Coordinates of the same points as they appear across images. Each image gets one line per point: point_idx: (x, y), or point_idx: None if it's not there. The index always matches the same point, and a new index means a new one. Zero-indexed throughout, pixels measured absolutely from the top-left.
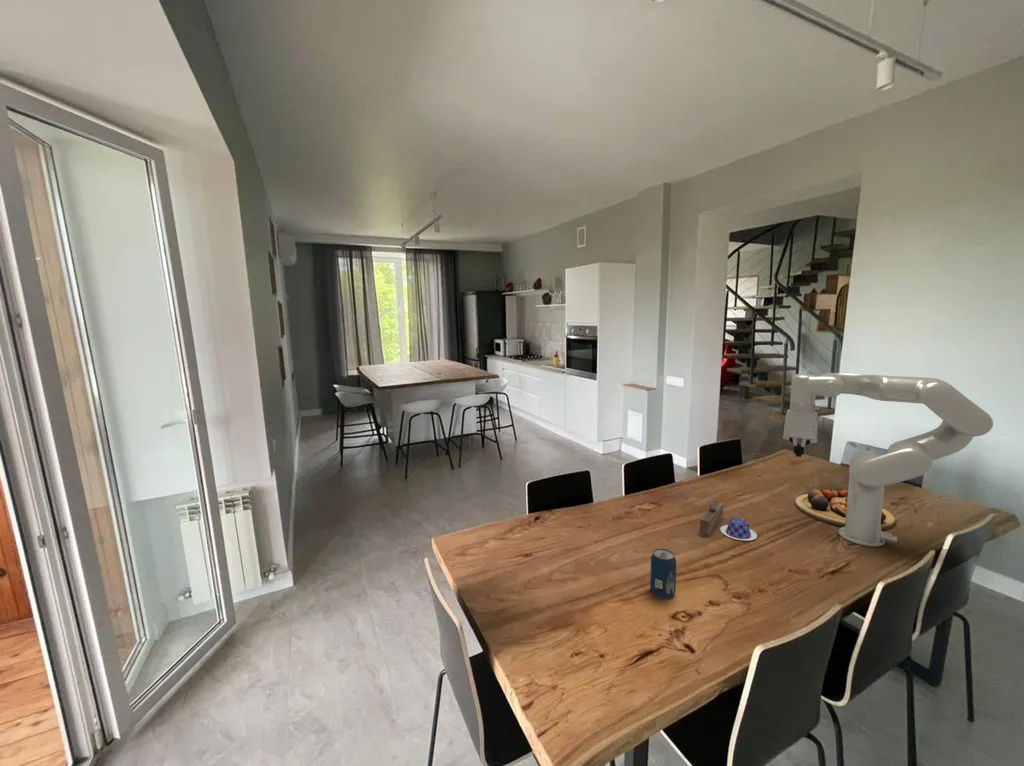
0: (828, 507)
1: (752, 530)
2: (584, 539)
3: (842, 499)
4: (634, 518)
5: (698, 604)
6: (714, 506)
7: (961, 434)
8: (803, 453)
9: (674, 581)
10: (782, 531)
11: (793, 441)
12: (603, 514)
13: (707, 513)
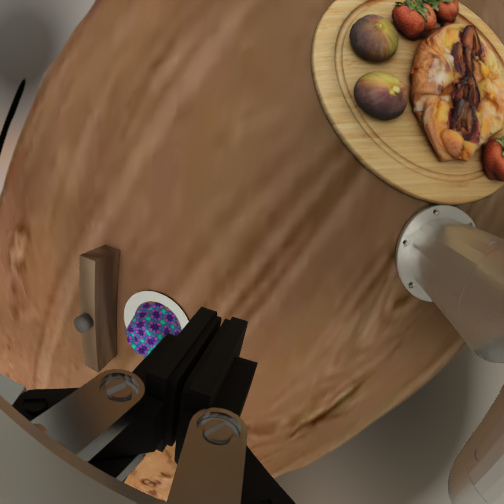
0: (404, 80)
1: (181, 310)
2: (26, 376)
3: (448, 66)
4: (25, 307)
5: (154, 475)
6: (82, 327)
7: None
8: (247, 394)
9: (125, 479)
10: (251, 284)
11: (90, 463)
12: (3, 304)
13: (84, 335)
